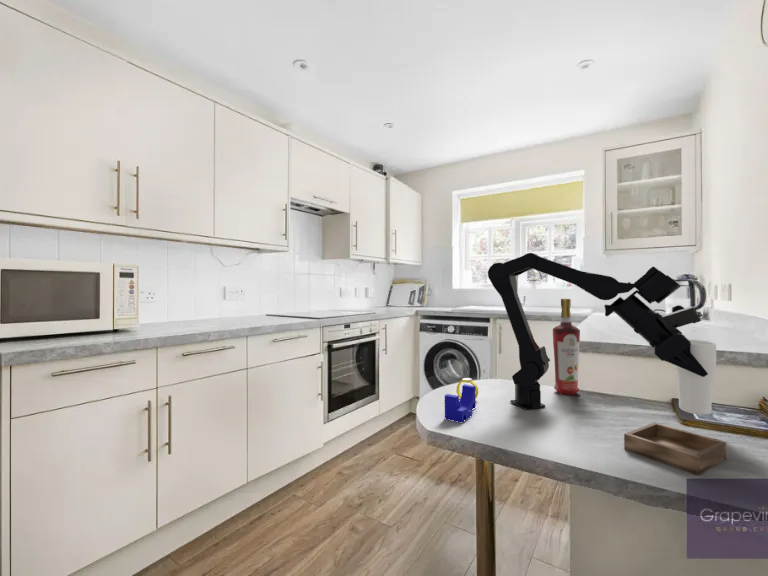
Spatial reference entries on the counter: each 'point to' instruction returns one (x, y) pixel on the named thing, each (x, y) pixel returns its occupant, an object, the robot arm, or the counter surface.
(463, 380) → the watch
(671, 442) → the walnut box
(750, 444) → the counter surface
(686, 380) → the drinking glass
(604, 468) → the counter surface
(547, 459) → the counter surface
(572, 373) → the liquor
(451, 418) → the blue u-shaped holder
